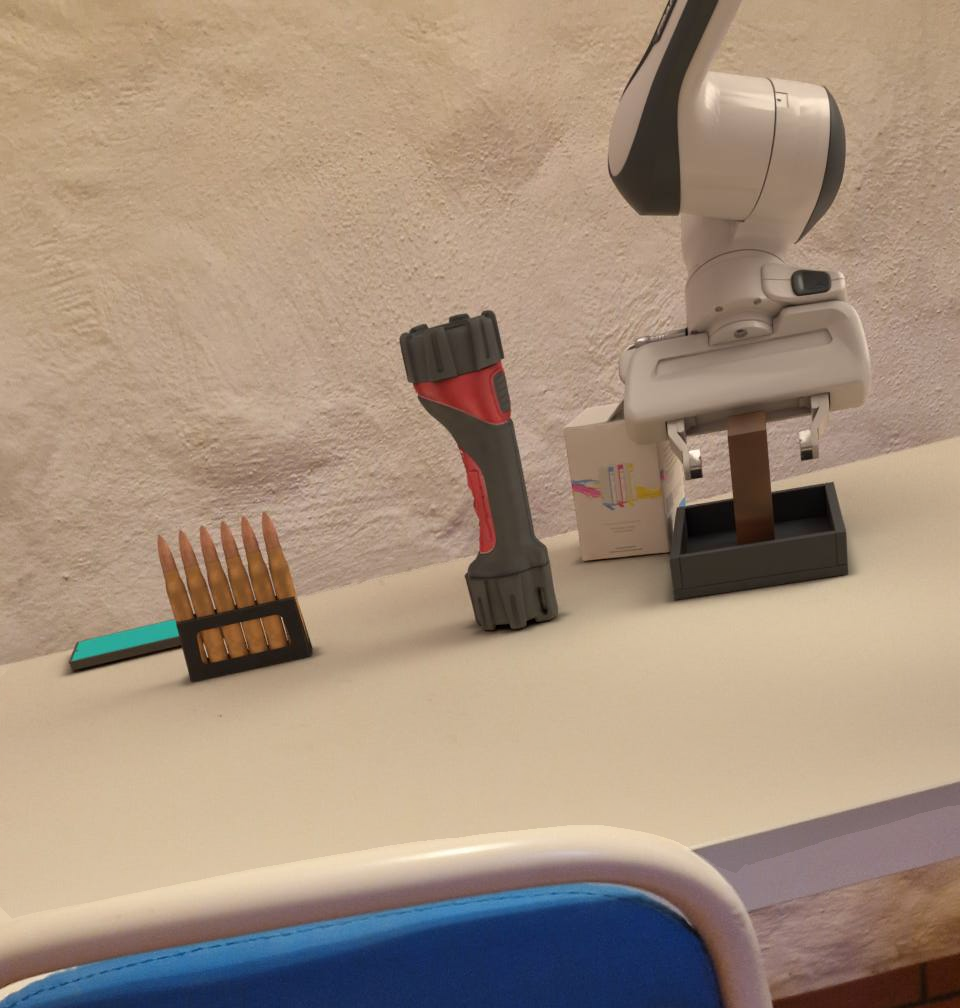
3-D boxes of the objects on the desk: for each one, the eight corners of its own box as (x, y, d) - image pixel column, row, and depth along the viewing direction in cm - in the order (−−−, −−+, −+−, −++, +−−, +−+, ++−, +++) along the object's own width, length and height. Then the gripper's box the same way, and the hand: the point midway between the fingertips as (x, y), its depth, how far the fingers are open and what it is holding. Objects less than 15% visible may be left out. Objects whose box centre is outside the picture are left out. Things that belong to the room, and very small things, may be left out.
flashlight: (447, 623, 119) (386, 330, 107) (531, 599, 121) (480, 306, 108) (475, 644, 113) (413, 334, 101) (564, 617, 114) (513, 308, 102)
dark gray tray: (835, 520, 123) (833, 481, 121) (848, 574, 109) (846, 531, 107) (680, 544, 126) (676, 507, 124) (674, 600, 112) (669, 558, 111)
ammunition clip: (313, 649, 121) (275, 506, 114) (312, 655, 119) (274, 511, 113) (193, 675, 121) (149, 534, 115) (191, 682, 120) (146, 539, 113)
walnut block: (774, 533, 120) (764, 409, 115) (776, 559, 114) (766, 429, 108) (739, 539, 121) (727, 416, 116) (739, 565, 114) (727, 436, 109)
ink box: (603, 536, 134) (582, 385, 127) (689, 525, 131) (672, 371, 124) (580, 563, 127) (557, 406, 120) (671, 552, 124) (652, 391, 117)
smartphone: (226, 625, 129) (68, 662, 129) (229, 634, 130) (71, 671, 129) (227, 606, 136) (76, 641, 135) (230, 614, 136) (79, 649, 136)
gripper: (611, 317, 117) (620, 465, 114) (863, 267, 112) (878, 420, 110) (622, 366, 123) (630, 507, 120) (862, 321, 118) (876, 466, 116)
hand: (751, 465), depth 115 cm, fingers open, 8 cm apart
